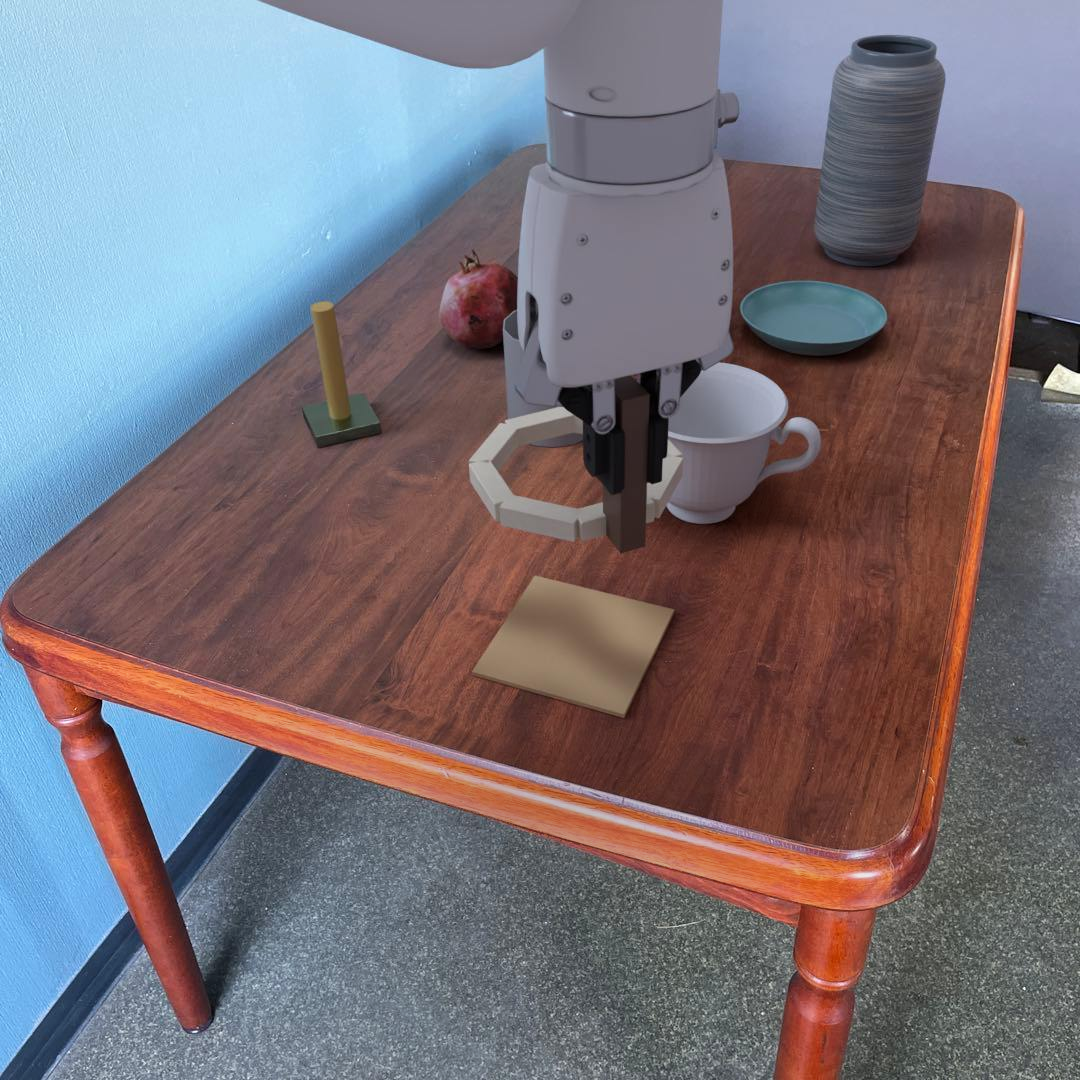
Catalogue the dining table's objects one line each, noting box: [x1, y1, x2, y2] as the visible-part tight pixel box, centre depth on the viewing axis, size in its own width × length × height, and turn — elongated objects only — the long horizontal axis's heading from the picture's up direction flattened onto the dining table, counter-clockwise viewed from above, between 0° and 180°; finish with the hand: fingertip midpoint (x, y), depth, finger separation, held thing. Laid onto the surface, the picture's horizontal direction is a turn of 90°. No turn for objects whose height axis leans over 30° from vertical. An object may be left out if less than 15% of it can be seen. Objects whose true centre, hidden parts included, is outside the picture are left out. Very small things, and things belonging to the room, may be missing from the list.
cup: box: [503, 310, 583, 448], centre depth 96 cm, size 8×8×10 cm
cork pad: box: [471, 575, 676, 719], centre depth 76 cm, size 11×11×1 cm
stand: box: [301, 300, 382, 449], centre depth 96 cm, size 6×6×12 cm
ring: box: [468, 375, 683, 554], centre depth 63 cm, size 14×12×10 cm
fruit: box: [438, 248, 518, 350], centre depth 109 cm, size 9×10×10 cm
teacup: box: [666, 362, 822, 525], centre depth 85 cm, size 12×15×10 cm
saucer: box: [739, 280, 888, 357], centre depth 111 cm, size 15×15×3 cm
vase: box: [813, 34, 946, 267], centre depth 120 cm, size 12×12×23 cm
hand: (624, 474), depth 59 cm, fingers closed on ring
